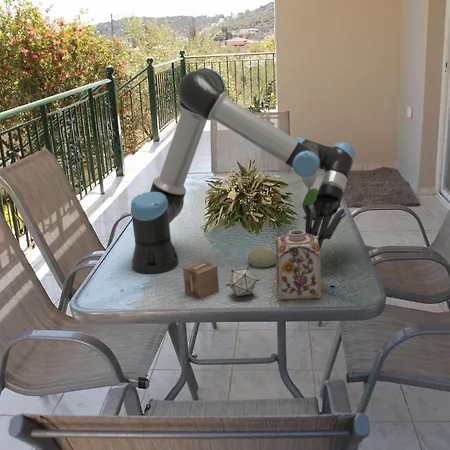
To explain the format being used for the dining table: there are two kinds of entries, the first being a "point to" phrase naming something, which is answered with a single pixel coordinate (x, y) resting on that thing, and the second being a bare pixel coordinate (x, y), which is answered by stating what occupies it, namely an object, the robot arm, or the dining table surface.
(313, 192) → the avocado
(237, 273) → the game die
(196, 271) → the marked walnut block
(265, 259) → the sea urchin shell
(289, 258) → the decorative jar
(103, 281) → the dining table surface
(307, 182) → the chalice
